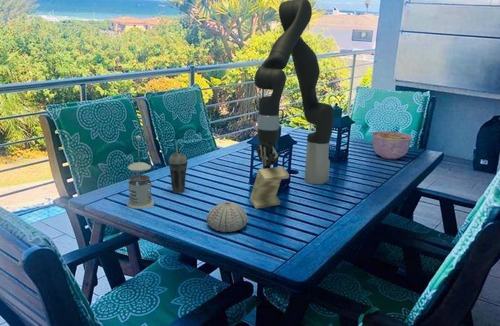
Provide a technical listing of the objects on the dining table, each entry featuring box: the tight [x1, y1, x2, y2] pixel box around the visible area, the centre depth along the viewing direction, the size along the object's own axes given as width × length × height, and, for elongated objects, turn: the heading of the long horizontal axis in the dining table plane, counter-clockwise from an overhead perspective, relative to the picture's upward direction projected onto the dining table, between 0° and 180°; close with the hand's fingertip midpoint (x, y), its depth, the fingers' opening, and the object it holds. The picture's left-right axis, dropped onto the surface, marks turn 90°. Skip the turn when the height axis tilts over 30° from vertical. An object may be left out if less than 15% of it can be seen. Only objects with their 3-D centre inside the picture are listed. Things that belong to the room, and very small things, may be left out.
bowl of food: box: [371, 130, 413, 160], centre depth 242 cm, size 20×20×12 cm
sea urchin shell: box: [205, 201, 249, 233], centre depth 153 cm, size 13×14×8 cm
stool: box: [249, 165, 290, 210], centre depth 169 cm, size 10×5×14 cm, turn 119°
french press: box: [126, 135, 155, 210], centre depth 168 cm, size 10×12×25 cm
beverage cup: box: [168, 141, 189, 194], centre depth 182 cm, size 7×7×20 cm
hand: (266, 174), depth 169 cm, fingers closed
